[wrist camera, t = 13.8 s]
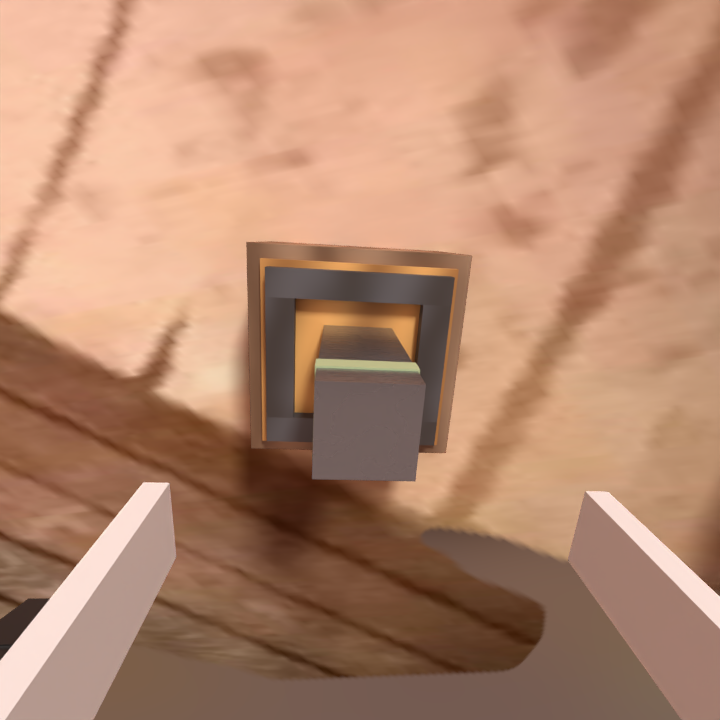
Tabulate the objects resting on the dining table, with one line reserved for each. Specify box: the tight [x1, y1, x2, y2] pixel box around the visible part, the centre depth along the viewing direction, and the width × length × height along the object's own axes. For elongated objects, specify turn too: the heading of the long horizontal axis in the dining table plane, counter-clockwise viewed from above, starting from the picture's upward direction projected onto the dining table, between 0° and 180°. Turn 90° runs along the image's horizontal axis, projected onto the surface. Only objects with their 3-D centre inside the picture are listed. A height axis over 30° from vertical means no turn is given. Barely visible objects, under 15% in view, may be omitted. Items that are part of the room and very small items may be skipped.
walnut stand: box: [246, 242, 472, 453], centre depth 35 cm, size 16×16×12 cm
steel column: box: [312, 325, 426, 481], centre depth 24 cm, size 5×5×12 cm
